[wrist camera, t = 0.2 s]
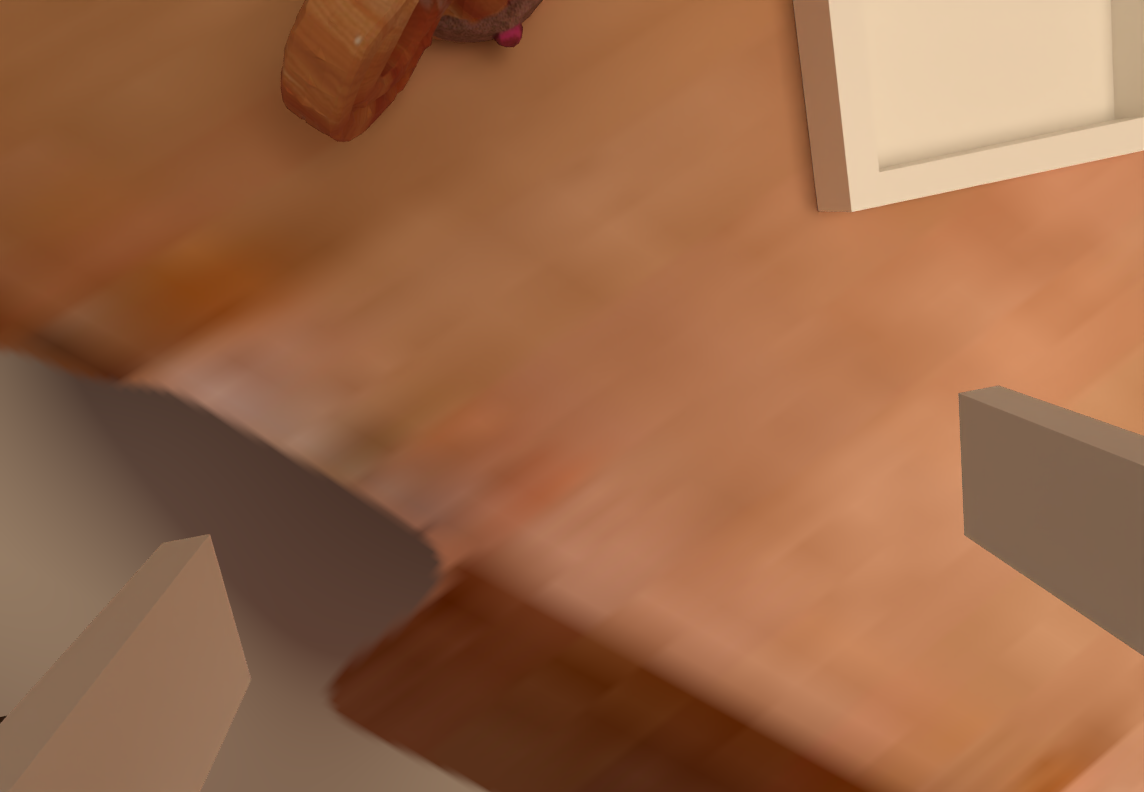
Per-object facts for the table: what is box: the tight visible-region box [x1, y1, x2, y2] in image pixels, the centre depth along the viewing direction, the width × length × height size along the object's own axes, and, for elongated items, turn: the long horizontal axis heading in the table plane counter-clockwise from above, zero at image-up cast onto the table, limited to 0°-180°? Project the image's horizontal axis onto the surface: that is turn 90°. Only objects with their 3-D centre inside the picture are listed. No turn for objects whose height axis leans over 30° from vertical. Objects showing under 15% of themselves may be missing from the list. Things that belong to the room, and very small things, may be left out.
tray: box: [793, 0, 1144, 212], centre depth 39 cm, size 13×17×4 cm
